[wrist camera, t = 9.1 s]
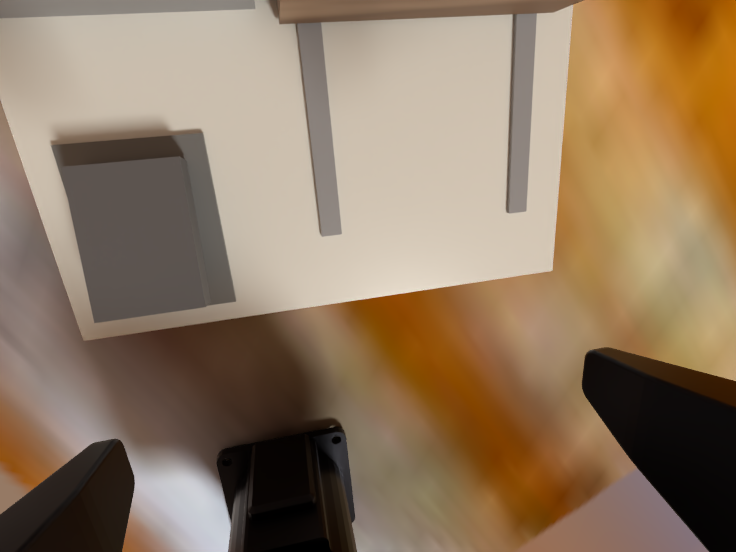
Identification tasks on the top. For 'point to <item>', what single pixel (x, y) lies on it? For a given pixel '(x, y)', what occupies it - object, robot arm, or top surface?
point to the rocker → (137, 237)
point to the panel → (299, 142)
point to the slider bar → (407, 9)
